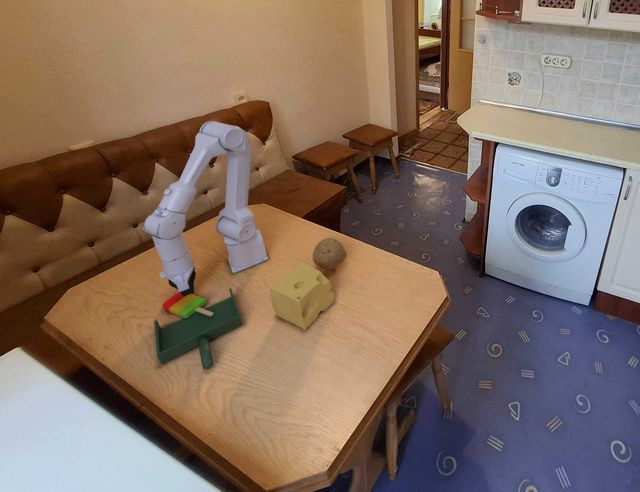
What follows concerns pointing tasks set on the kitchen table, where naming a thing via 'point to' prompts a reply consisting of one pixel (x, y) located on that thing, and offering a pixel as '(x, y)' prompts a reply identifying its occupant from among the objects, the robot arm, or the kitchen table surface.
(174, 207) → the robot arm
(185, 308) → the popsicle
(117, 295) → the kitchen table surface
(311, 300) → the cheese
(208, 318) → the dustpan
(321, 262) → the natural sponge
